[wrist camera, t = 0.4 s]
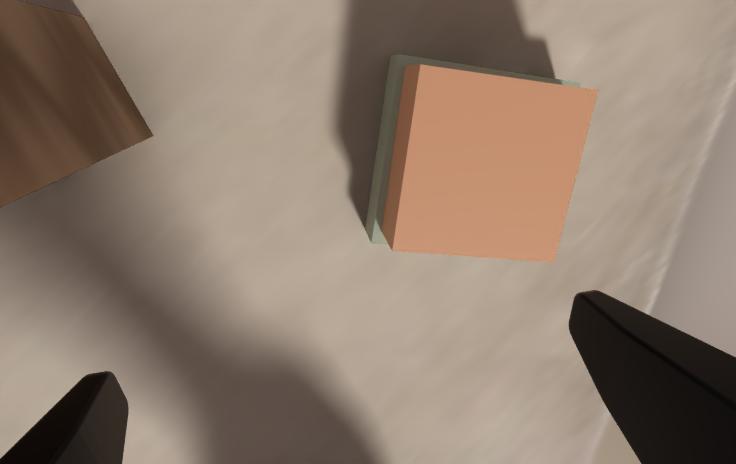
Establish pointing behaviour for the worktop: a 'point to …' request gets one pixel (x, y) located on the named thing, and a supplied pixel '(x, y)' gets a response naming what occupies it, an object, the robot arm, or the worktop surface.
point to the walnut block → (56, 100)
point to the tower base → (390, 122)
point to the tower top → (483, 164)
